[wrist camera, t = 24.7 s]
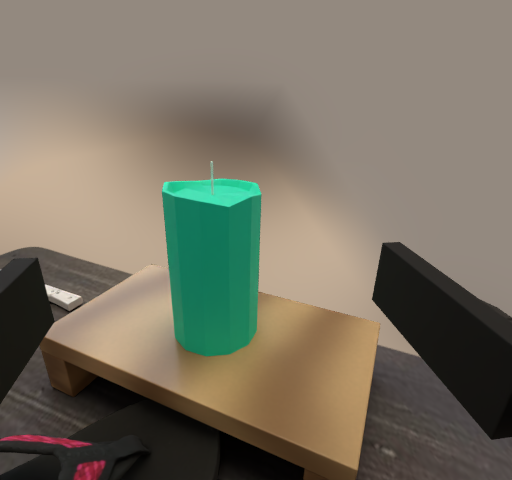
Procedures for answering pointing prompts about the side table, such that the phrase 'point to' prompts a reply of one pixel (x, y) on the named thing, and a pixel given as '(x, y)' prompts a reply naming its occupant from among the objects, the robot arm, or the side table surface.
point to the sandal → (123, 448)
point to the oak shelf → (231, 370)
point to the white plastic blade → (63, 298)
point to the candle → (213, 262)
